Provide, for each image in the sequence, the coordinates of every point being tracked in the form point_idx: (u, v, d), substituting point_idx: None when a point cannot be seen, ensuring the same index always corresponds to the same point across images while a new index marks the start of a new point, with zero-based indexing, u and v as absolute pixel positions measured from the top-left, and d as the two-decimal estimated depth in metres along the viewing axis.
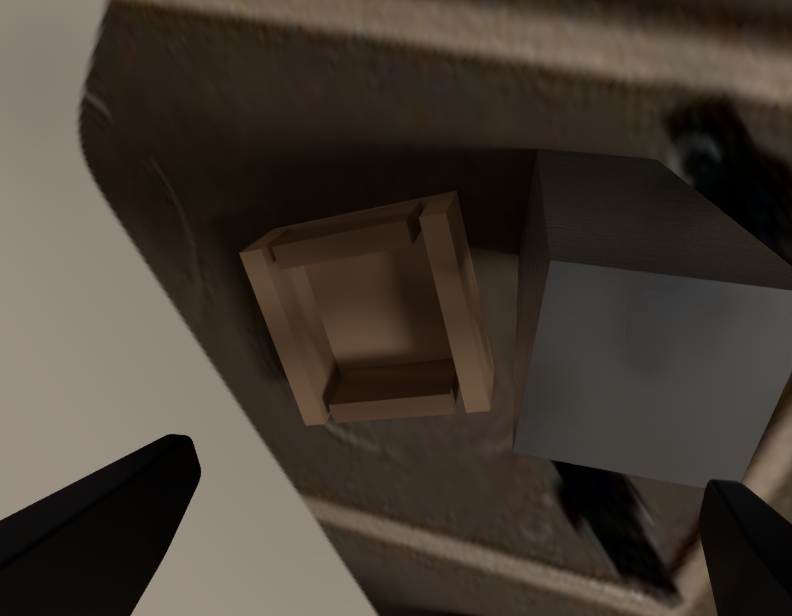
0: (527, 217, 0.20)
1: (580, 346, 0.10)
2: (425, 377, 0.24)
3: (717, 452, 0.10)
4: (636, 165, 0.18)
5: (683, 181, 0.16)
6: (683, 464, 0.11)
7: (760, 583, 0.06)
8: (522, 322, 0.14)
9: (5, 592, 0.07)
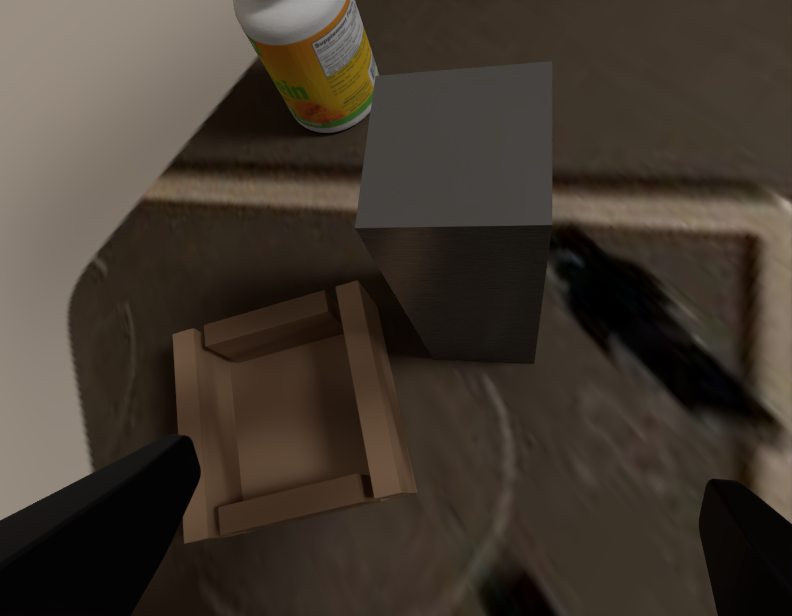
0: None
1: (401, 126, 0.13)
2: None
3: (524, 187, 0.12)
4: None
5: None
6: (500, 205, 0.12)
7: (760, 583, 0.06)
8: None
9: (5, 592, 0.07)
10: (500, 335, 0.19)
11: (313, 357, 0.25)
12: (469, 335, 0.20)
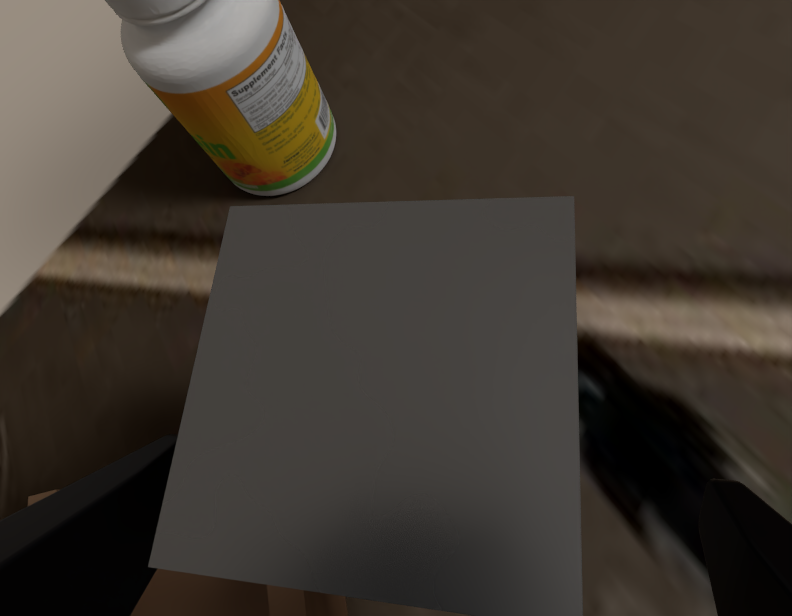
0: None
1: (266, 322, 0.06)
2: None
3: (515, 512, 0.05)
4: None
5: None
6: (459, 554, 0.05)
7: (760, 583, 0.06)
8: None
9: (5, 592, 0.07)
10: None
11: None
12: None
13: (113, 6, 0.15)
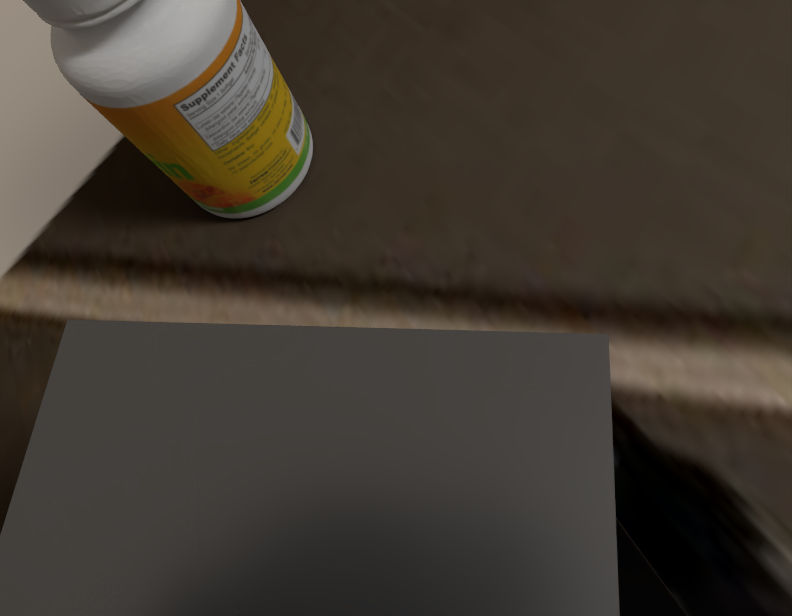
0: None
1: (99, 533, 0.04)
2: None
3: None
4: None
5: None
6: None
7: None
8: None
9: None
10: None
11: None
12: None
13: (30, 6, 0.13)
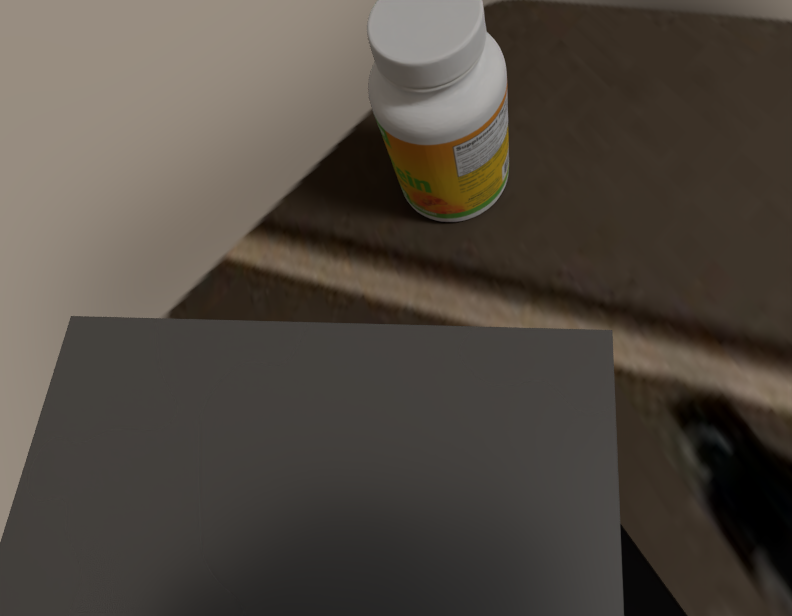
0: None
1: (101, 529, 0.04)
2: None
3: None
4: None
5: None
6: None
7: None
8: None
9: None
10: None
11: None
12: None
13: (386, 73, 0.18)
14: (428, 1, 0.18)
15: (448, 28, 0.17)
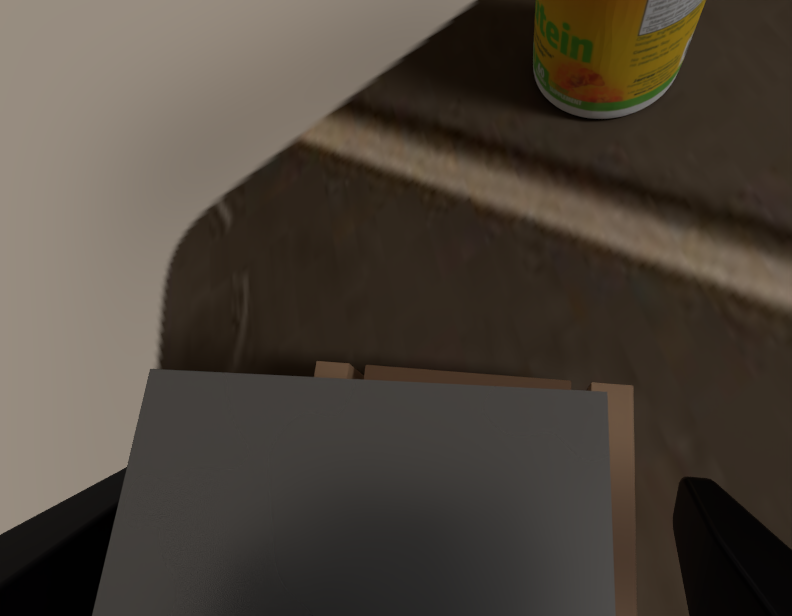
0: None
1: (190, 552, 0.05)
2: None
3: None
4: None
5: None
6: None
7: (725, 578, 0.06)
8: None
9: (29, 596, 0.07)
10: None
11: None
12: None
13: None
14: None
15: None
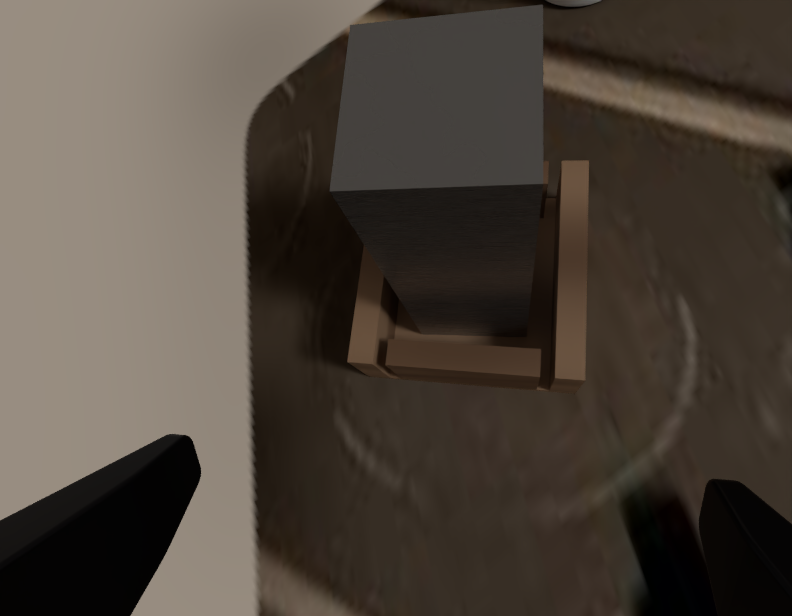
0: None
1: (379, 79, 0.12)
2: None
3: (512, 144, 0.11)
4: None
5: None
6: (486, 164, 0.11)
7: (760, 583, 0.06)
8: None
9: (5, 592, 0.07)
10: (490, 308, 0.18)
11: None
12: (458, 308, 0.19)
13: None
14: None
15: None
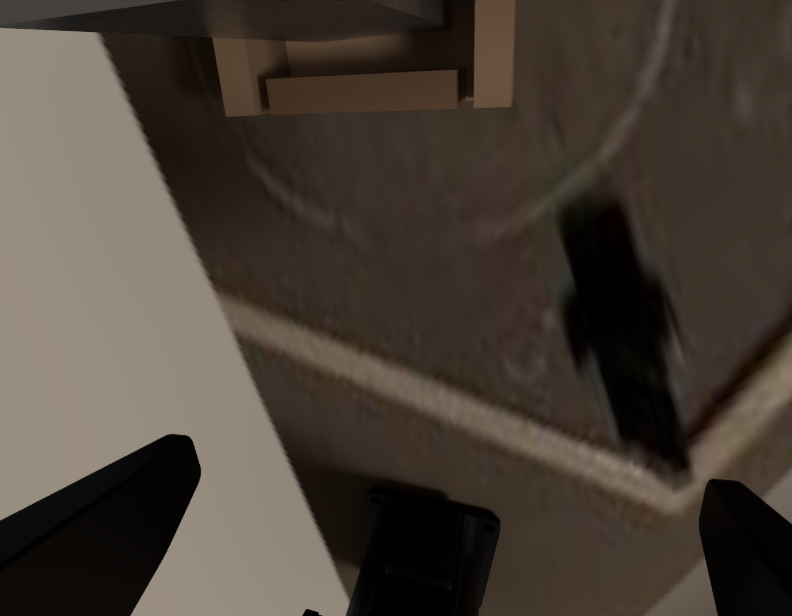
0: None
1: None
2: (417, 70, 0.16)
3: None
4: None
5: None
6: None
7: (760, 583, 0.06)
8: None
9: (5, 592, 0.07)
10: (380, 27, 0.13)
11: None
12: (338, 32, 0.14)
13: None
14: None
15: None
